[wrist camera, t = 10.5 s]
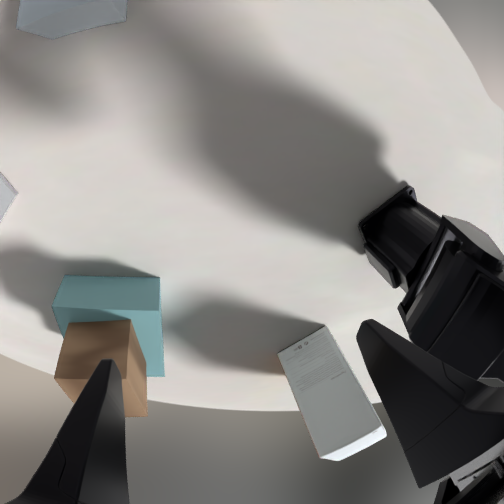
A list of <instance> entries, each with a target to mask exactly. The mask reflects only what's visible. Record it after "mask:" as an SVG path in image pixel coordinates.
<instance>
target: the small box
mask: <svg viewBox="0 0 504 504" xmlns="http://www.w3.org/2000/svg"><path fill="white" fill-rule="evenodd" d="M277 355H278V358H279V360H280V363H281V365H282V368H283V370H284V373H285V375H286V377H287V380H288V382H289V385H290V387H291V390H292V392H293V395H294V397H295V400H296V402H297V405H298V407H299V410H300V412H301V414H302V417H303V419H304V422H305V424H306V427H307V429H308V431H309V434H310V436H311V439H312V441H313V444H314V446H315V449H316V451H317V454H318V456H319V458H324V459H330V460H335V461H339V460H342V459H344V458H346V457H348V456H350V455H352V454H354V453H356V452H358V451H360V450H362V449H364V448H366V447H368V446H370V445H372V444H374V443H376V442H377V441H379V440H381V439H383V438H385V437H386V436H387V435H386V430H385V428H384V427H383V425H382V423H381V421H380V419H379V417H378V416H377V414H376V412H375V410H374V408H373V406H372V404H371V403H370V401H369V399H368V397H367V395H366V394H365V392H364V390H363V388H362V386H361V385H360V383H359V381H358V379H357V377H356V376H355V374H354V372H353V370H352V368H351V367H350V365H349V363H348V361H347V360H346V358H345V356H344V354H343V352H342V351H341V349H340V347H339V345H338V344H337V342H336V340H335V339H334V337H333V335H332V334H331V332H330V330H329V329H328V327H327V326H325V327H323V328H321V329H319V330H318V331H316V332H314V333H313V334H311V335H309V336H308V337H306V338H304V339H302V340H301V341H299V342H297V343H295V344H293V345H292V346H290V347H288V348H287V349H285V350H283V351H281V352H279V353H278V354H277Z"/></svg>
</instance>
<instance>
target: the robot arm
mask: <svg viewBox="0 0 504 504" xmlns="http://www.w3.org/2000/svg"><path fill="white" fill-rule="evenodd" d="M364 225H365V226H364ZM358 227H359V230H360V232H361V234H362V237H363V239H364V242H365V244H364V249H365V252H366V254H367V257H368V259H369V261H370V264H371V265H372V266H373V267H374V268H375V269H376V270H377V271H378V272H379V273H380V274H381V275H382V276H383V278H384V279H385V280H386V281H387V282H388V283H389V284H390V285H391V286H392V287H393V288H398V287H399V286H400V287H401V288H402V289H403V290H404V291H405V292H406V295H405V297H404V299H403V301H402V302H400V304H399V306H398V311H399V313H400V315H401V318H402V320H403V322H404V325H405V327H406V329H407V332H408V334H409V339H410V340H411V342H412V343H411V342H410V341H408V340H406V339H405V338H403V337H401V336H400V335H398V334H397V333H395V332H393V331H392V330H390V329H388V328H387V327H385V326H383V325H382V324H380V323H378V322H377V321H375V320H373V319H369V320H365V321H363V322H362V323H361V326H360V328H359V330H358V333H357V336H356V339H357V343H358V345H359V348H360V351H361V354H362V356H363V359H364V362H365V365H366V368H367V370H368V373H369V375H370V377H371V379H372V381H373V383H374V386H375V388H376V390H377V392H378V394H379V396H380V398H381V401H382V403H383V405H384V407H385V409H386V411H387V414H388V416H389V418H390V420H391V423H392V425H393V427H394V429H395V432H396V434H397V436H398V439H399V441H400V443H401V445H402V448H403V450H404V453H405V456H406V458H407V460H408V462H409V465H410V468H411V470H412V473H413V475H414V477H415V480H416V483H417V485H418V487H419V488H422V487H424V486H426V485H428V484H430V483H432V482H435V481H437V480H439V479H440V478H442V477H444V476H446V475H448V474H449V476H448V477H447V478H446V479H444V480H443V481H442V482H440V484H439V488H438V492H437V495H436V498H435V501H434V504H504V387H491V386H488V385H485V384H483V383H481V382H479V381H478V380H479V379H480V378H489V379H498V380H500V381H501V382H503V383H504V255H503V254H502V252H501V251H500V250H499V248H498V247H497V246H496V244H495V243H494V242H493V240H492V239H491V238H490V237H489V235H488V234H486V233H485V232H484V231H482V230H480V229H479V228H477V227H476V226H474V225H473V224H471V223H469V222H467V221H464V220H460V219H457V218H453V217H449V216H446V215H442V218H441V217H440V216H438V215H437V214H435V213H434V212H432V211H431V210H429V209H428V208H426V207H425V206H423V205H422V204H420V203H419V202H417V198H416V194H415V190H414V188H413V187H411V186H406V187H405V188H404V189H403V190H401V191H400V192H399V193H397V194H396V195H395V196H394V197H392V198H391V199H390V200H388V201H387V202H386V203H384V204H383V205H382V206H380V207H379V208H378V209H376V210H375V211H374V212H372V213H371V214H370V215H368V216H367V217H366V218H364V219H363V220H362V221H361V222H360V223H359V226H358ZM125 447H126V446H125V412H124V402H123V391H122V378H121V373H120V371H119V369H118V367H117V365H116V363H115V361H114V360H113V359H111V358H109V359H102V360H100V362H99V364H98V365H97V367H96V368H95V370H94V372H93V373H92V375H91V377H90V378H89V380H88V381H87V383H86V385H85V386H84V388H83V390H82V392H81V393H80V395H79V397H78V398H77V400H76V402H75V404H74V406H73V407H72V409H71V411H70V413H69V414H68V416H67V418H66V420H65V422H64V423H63V425H62V427H61V429H60V431H59V432H58V434H57V438H55V440H54V442H53V444H52V446H51V447H50V449H49V451H48V453H47V455H46V457H45V458H44V460H43V461H42V463H41V465H40V466H39V468H38V469H37V471H36V472H35V474H34V475H33V477H32V479H31V480H30V482H29V483H28V485H27V486H26V488H25V489H24V491H23V492H22V493H21V494H20V495H19V496H18V497H16V498H15V499H13V500H11V501H9V502H7V503H5V504H129V493H128V483H127V468H126V448H125Z"/></svg>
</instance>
